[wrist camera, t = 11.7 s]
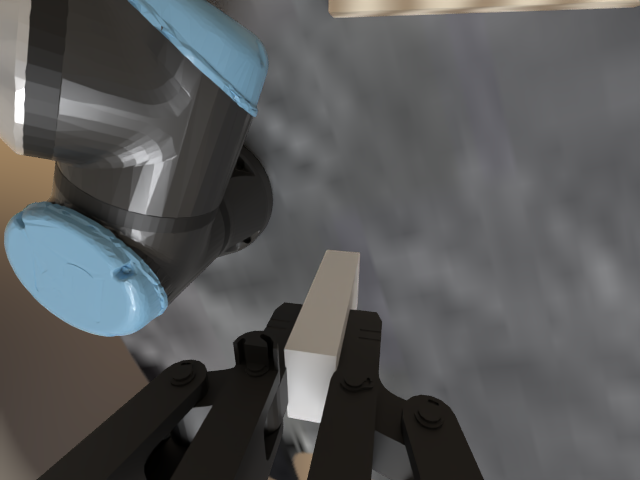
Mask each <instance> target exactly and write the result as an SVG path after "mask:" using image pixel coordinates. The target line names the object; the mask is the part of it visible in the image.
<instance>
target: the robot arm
mask: <svg viewBox="0 0 640 480" xmlns="http://www.w3.org/2000/svg"><path fill="white" fill-rule="evenodd" d="M267 71H268V56H267V52H266V49H265V47H264V45H263V43H262V42H261V41H260V39H259V38H258V37H257V36H255V35H254V34H253V33H252V32H250V31H249V30H248V29H246V28H245V27H243V26H242V25H241V24H239V23H238V22H236V21H235V20H233V19H232V18H231V17H229V16H228V15H226V14H225V13H223V12H222V11H221V10H219V9H218V8H216V7H215V6H213V5H212V4H210V3H209V2H207V1H206V0H0V138H1V139H2V140H3V141H4V142H5V143H6V144H7V145H8V146H9V147H10V148H11V149H12V150H13V151H14V152H15V153H17V154H21V155H26V156H32V157H38V158H44V159H50V160H55V161H56V163H55V173H54V180H53V189H52V195H51V196H50V198H49V199H48V200H47V201H46V202H39V203H36V202H35V203H32V204H29V205H28V206H27V207H26V208H24V209H23V211H21V212H19V213H17V214H16V215H14V216H13V217H12V218H11V220H10V221H9V223H8V224H7V226H6V229H5V234H4V245H5V250H6V254H7V257H8V260H9V262H10V264H11V266H12V268H13V270H14V272H15V274H16V275H17V277H18V278H19V280H20V281H21V283H22V284H23V285H24V286H25V288H26V289H27V290H28V291H29V292H30V293H31V294H32V295H33V297H34V298H35V299H36V300H37V301H38V302H39V303H40V304H42V305H43V306H44V307H45V308H46V309H47V310H49V311H50V312H51V313H53V314H54V315H56V316H57V317H58V318H60V319H61V320H63V321H65V322H67V323H69V324H70V325H72V326H74V327H77V328H78V329H81V330H83V331H86V332H89V333H92V334H96V335H101V336H116V335H118V336H123V335H129V334H132V333H134V332H136V331H138V330H140V329H141V328H143V327H144V326H145V325H146V324H148V323H149V322H150V321H151V320H153V319H154V318H155V317H157V316H159V315H161V314H162V313H164V311H165V309H166V308H167V306H168V305H169V304H170V303H171V302H172V301H173V300H174V299H175V298H176V297H177V296H178V295H179V294H180V293H181V292H182V291H183V290H184V289H185V288H186V287H187V286H188V285H189V284H190V283H192V282H193V281H194V280H195V279H196V278H197V277H198V276H199V275H200V274H201V273H202V272H203V271H204V270H205V269H206V268H207V267H208V266H209V265H210V264H211V263H212V262H213V261H214V260H215V259H216V258H217V257H220V256H224V255H227V254H231V253H234V252H237V251H240V250H242V249H244V248H246V247H247V246H249V245H250V244H251V243H253V242H254V241H255V240H256V239H257V237H258V236H259V235H260V234H261V233H262V232H263V230H264V229H265V228H266V226H267V224H268V222H269V219H270V216H271V212H272V204H273V199H272V190H271V186H270V183H269V180H268V177H267V175H266V173H265V171H264V169H263V167H262V166H261V164H260V163H259V161H258V160H257V159H256V158H255V156H254V155H253V154H252V153H251V152H250V151H248V150H247V149H246V148H245V147H244V146H243V143H244V141H245V138H246V135H247V133H248V130H249V128H250V125H251V122H252V120H253V117H256V115H257V112H258V109H257V103H258V100H259V97H260V94H261V91H262V87H263V84H264V81H265V78H266V75H267ZM359 262H360V253H357V252H346V251H334V250H326V253H325V255H324V257H323V260H322V262H321V264H320V267H319V269H318V271H317V274H316V276H315V278H314V281H313V283H312V285H311V288H310V290H309V292H308V295H307V297H306V299H305V302H304V304H303V305H302V304H293V303H283V304H282V305H281V306H279V307H278V308H277V309H276V310H275V311H274V313H273V315H272V317H271V319H270V320H269V322H268V324H267V327H266V328H265V330H264V331H252V332H248V333H245V334H243V335H241V336H239V337H238V338H237V339H236V340H235V341H234V342H233V345H234V353H235V361H236V365H235V367H234V368H231V369H226V370H218V371H209V372H207V369H206V367H205V365H204V364H203V363H201V362H200V361H196V360H183V361H180V362H177V363H175V364H173V365H171V366H170V367H168V368H167V369H165V370H164V371H163V372H162V373H161V374H159V375H158V376H157V377H156V378H155V379H154V380H152V381H151V382H150V383H149V384H148V385H147V386H145V387H144V388H143V389H142V390H141V391H140V392H138V393H137V394H136V395H135V396H134V397H133V398H132V399H130V400H129V401H128V402H127V403H126V404H124V405H123V406H122V407H121V408H120V409H119V410H117V411H116V412H115V413H114V414H113V415H112V416H110V417H109V418H108V419H107V420H106V421H105V422H104V423H102V424H101V425H100V426H99V427H98V428H96V429H95V430H94V431H93V432H92V433H91V434H89V435H88V436H87V437H86V438H85V439H84V440H82V441H81V442H80V443H79V444H78V445H77V446H76V447H74V448H73V449H72V450H71V451H70V452H68V453H67V454H66V455H65V456H64V457H63V458H61V459H60V460H59V461H58V462H57V463H56V464H54V465H53V466H52V467H51V468H50V469H49V470H47V471H46V472H45V473H44V474H43V475H42V476H41V477H39V478H38V479H37V480H267V479H268V476H269V473H270V470H271V467H272V464H273V461H274V458H275V455H276V452H277V449H278V446H279V443H280V440H281V437H282V434H283V417H284V414H285V411H286V408H287V411H288V417H290V418H296V419H301V420H307V421H313V422H318V423H320V427H319V431H318V435H317V439H316V444H315V448H314V452H313V457H312V461H311V465H310V470H309V474H308V478H307V480H371V474H372V469H373V470H374V471H376V472H378V473H380V474H381V475H383V476H385V477H387V478H389V479H390V480H484V479H483V476H482V474H481V472H480V470H479V468H478V465H477V463H476V461H475V459H474V456H473V454H472V452H471V450H470V447H469V445H468V443H467V441H466V438H465V436H464V434H463V432H462V430H461V427H460V425H459V423H458V421H457V418H456V416H455V414H454V413H453V411H452V410H451V409H450V407H449V406H448V405H446V404H445V403H444V402H443V401H441V400H439V399H437V398H435V397H432V396H427V395H418V396H413V397H411V398H410V399H408V400H407V401H406V400H404V399H402V398H400V397H397V396H396V395H394V394H392V393H390V392H389V391H388V390H387V389H386V388H385V387H384V386H383V384H382V383H381V381H380V379H379V358H380V343H381V329H382V321H381V319H380V317H379V315H378V314H377V312H369V311H360V310H356V309H357V302H358V282H359Z"/></svg>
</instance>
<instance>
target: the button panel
mask: <svg viewBox="0 0 640 480" xmlns="http://www.w3.org/2000/svg"><path fill="white" fill-rule="evenodd" d="M639 5H640V0H329V13H330V14H331V15H332V16H333V17H334V18H344V17H372V16H400V15H429V14H457V13H486V12H514V11H542V10H571V9H599V8H628V7H636V6H639Z"/></svg>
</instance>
